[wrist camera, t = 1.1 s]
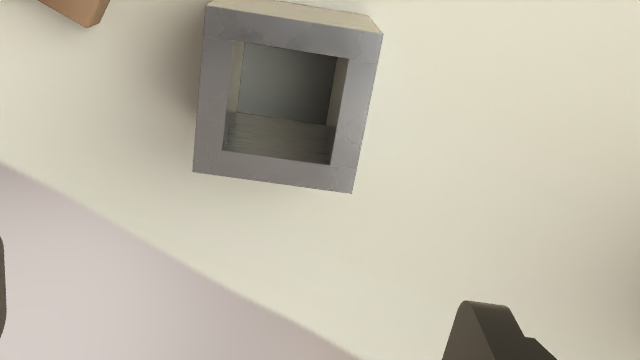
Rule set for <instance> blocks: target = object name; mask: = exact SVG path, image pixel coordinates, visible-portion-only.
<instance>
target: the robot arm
mask: <svg viewBox="0 0 640 360" xmlns="http://www.w3.org/2000/svg"><path fill="white" fill-rule="evenodd" d="M5 320H6V288H5V267H4V247H3V242H2V239H1V237H0V337H1V334H2V332H3V329H4V325H5ZM442 360H557V359H556V358H555V357H554V356H553V355H552V354H551V353H549V352H548V351H547V350H546V349H545V348H544V347H543V346H542V345H541V344H540V343H539V342H538V341H537V340H536V339H534V338H528V337H524V335H523V333H522V331H521V329H520V327H519V325H518V324H517V322H516V320H515V318H514V316H513V314H512V312H511V311H510V309H509V308H508V307H506V306H502V305H495V304H488V303H481V302H474V301H463V302H462V303H461V305H460V306H459V308H458V311H457V314H456V317H455V320H454V323H453V327H452V330H451V333H450V336H449V339H448V342H447V346H446V349H445V352H444V355H443V358H442Z"/></svg>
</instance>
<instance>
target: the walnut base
mask: <svg viewBox="0 0 640 360" xmlns="http://www.w3.org/2000/svg"><path fill="white" fill-rule="evenodd" d="M39 1H40V2H42V3H44V4H45V5H47V6H49V7H51V8H52V9H54V10H56V11H58V12H59V13H61V14H63V15H65V16H66V17H68V18H70V19H71V20H73V21H75V22H77V23H78V24H80V25H82V26H84V27H85V28H88V27H91V26H93V25H96V24H98V23H99V22H100V20H101V18H102V16H103V14H104V12H105V10H106V7H107V5H108V3H109V1H110V0H39Z"/></svg>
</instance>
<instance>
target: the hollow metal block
mask: <svg viewBox="0 0 640 360" xmlns="http://www.w3.org/2000/svg"><path fill="white" fill-rule="evenodd" d="M382 39H383V33H382V32H381V30H380V29H379V28H378V27H377V25H376V24H375V23H374V22H373V20H372V19H371V18H370V17H369V16H368V15H362V14H355V13H349V12H343V11H337V10H331V9H325V8H319V7H313V6H307V5H300V4H294V3H288V2H282V1H276V0H213V1H211V2H210V3H208V4H207V5H206V9H205V21H204V33H203V46H202V58H201V71H200V83H199V96H198V108H197V121H196V133H195V146H194V158H193V171H192V172H197V173H205V174H212V175H219V176H226V177H234V178H241V179H248V180H256V181H263V182H270V183H277V184H285V185H292V186H299V187H307V188H314V189H321V190H328V191H336V192H343V193H350V194H352V190H353V185H354V180H355V175H356V170H357V165H358V160H359V155H360V150H361V145H362V140H363V134H364V129H365V124H366V119H367V114H368V109H369V104H370V99H371V94H372V89H373V84H374V79H375V74H376V69H377V64H378V59H379V54H380V49H381V44H382ZM245 42H246V43H253V44H259V45H266V46H272V47H278V48H285V49H291V50H297V51H304V52H310V53H316V54H323V55H329V56H336V57H337V62H336V68H335V74H334V80H333V86H332V92H331V97H330V103H329V109H328V115H327V121H326V125H321V124H314V123H307V122H300V121H293V120H287V119H280V118H273V117H266V116H259V115H253V114H246V113H239V112H237V109H238V99H239V90H240V81H241V72H242V62H243V53H244V44H245Z"/></svg>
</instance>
